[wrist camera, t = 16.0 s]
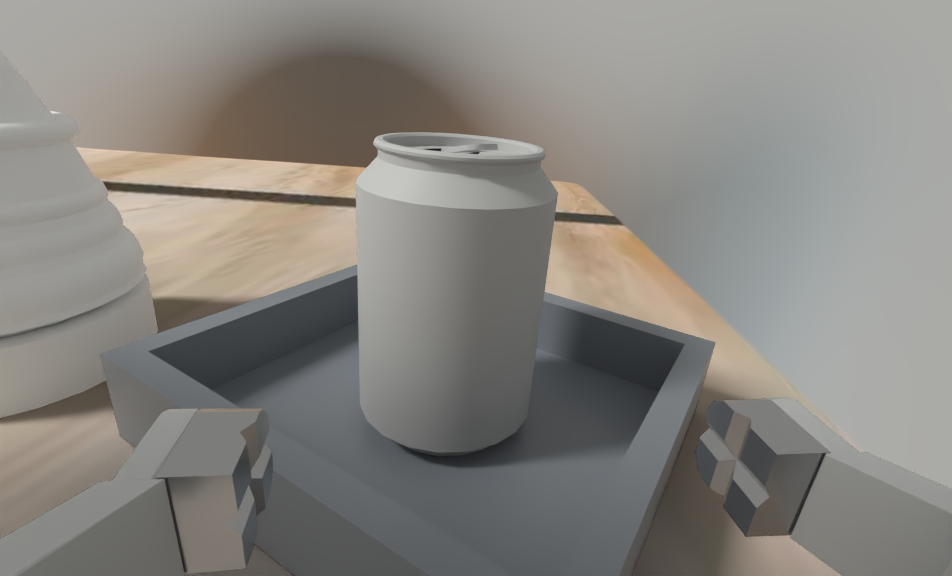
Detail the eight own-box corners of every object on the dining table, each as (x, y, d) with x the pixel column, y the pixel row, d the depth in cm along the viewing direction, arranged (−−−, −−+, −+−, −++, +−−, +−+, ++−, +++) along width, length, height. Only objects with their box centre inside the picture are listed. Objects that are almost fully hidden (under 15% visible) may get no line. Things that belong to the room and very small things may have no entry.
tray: (120, 435, 21) (99, 353, 20) (399, 303, 35) (400, 249, 34) (551, 782, 12) (577, 675, 10) (695, 410, 26) (715, 342, 24)
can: (467, 354, 27) (485, 127, 23) (562, 431, 22) (610, 151, 17) (334, 392, 23) (323, 124, 19) (409, 499, 18) (419, 155, 13)
